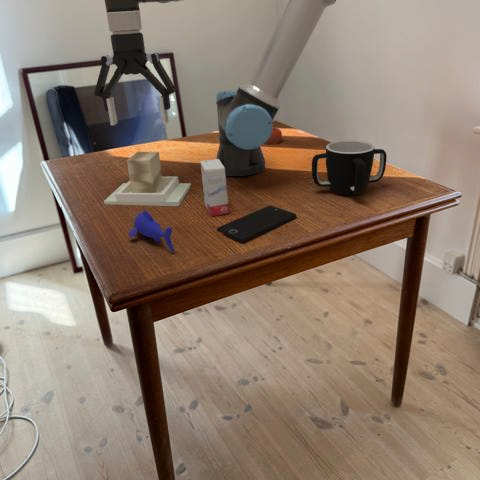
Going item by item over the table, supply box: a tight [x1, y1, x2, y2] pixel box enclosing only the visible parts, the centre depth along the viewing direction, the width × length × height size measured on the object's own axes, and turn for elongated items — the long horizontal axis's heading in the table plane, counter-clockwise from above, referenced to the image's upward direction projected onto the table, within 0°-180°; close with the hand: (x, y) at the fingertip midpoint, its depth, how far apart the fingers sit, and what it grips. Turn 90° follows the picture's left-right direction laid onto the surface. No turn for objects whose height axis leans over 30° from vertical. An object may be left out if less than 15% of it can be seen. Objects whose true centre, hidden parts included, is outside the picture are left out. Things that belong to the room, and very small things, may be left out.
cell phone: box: [216, 205, 297, 243], centre depth 111 cm, size 9×18×1 cm, turn 133°
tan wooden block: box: [126, 151, 163, 193], centre depth 127 cm, size 6×8×10 cm
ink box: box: [200, 158, 230, 217], centre depth 117 cm, size 9×5×12 cm, turn 13°
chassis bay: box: [103, 176, 192, 207], centre depth 129 cm, size 20×14×4 cm
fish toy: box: [128, 209, 175, 253], centre depth 103 cm, size 15×8×7 cm, turn 41°
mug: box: [311, 140, 387, 196], centre depth 124 cm, size 16×16×12 cm
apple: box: [265, 124, 283, 145], centre depth 167 cm, size 7×7×8 cm
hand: (139, 123), depth 121 cm, fingers open, 13 cm apart
